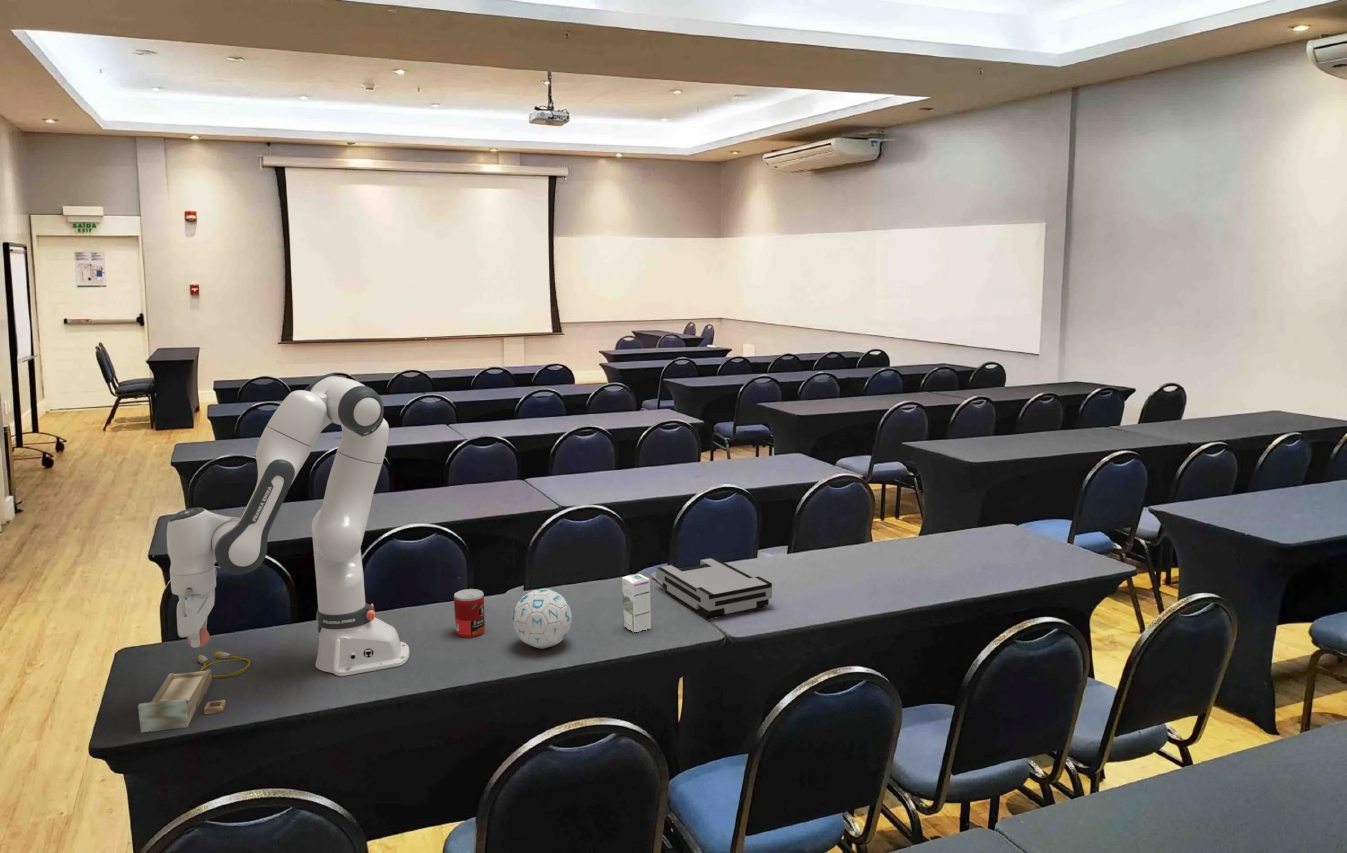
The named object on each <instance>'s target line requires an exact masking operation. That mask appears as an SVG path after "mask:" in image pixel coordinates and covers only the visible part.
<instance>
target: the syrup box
mask: <svg viewBox="0 0 1347 853" xmlns="http://www.w3.org/2000/svg"><path fill="white" fill-rule="evenodd" d="M621 580H622V586H621V588H622V589H621V590H622V617H623V618H622V620H623V621H622V622H623V628H624V627H626V628H627V629H626V628H625V629H626V630H628V631H629V630H631V631H632V632H631V631H630V632H631V633H633V634H635V633H634V632H639V631H642V630H646V631H648V630H647V629H650V630H651V629H652V619H651V617H652V614H651V610H652V608H651V580H650V578H649V577H646V576H644V575H642V574H641V573H633V574H628V575H626V576H622V577H621ZM639 633H640V632H639Z"/></svg>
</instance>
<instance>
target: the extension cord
mask: <svg viewBox="0 0 1347 853" xmlns="http://www.w3.org/2000/svg"><path fill="white" fill-rule="evenodd" d="M213 658H214V659H219V661H214V662H211V663H209V658H208V657H207V656H205V655H204V654H199V655H198V656H197V661H198V662H200V663H199V664H201V665H203V666H202V668H200V670H199V671H198V672H201V671H204V670H205V668H207V667H209V666H211V665H214V663H215V664H218V662H219V663H223V662H222V661H224V662H231V661H245V660H246V662H248V663H247V664H246V666H245V667H244V668H241V669H240V670H238V671H236V672H231V673H228V674H224V675H212V679H224V678H229V677H235V676H238V675H240V674H242V673H244V672H245V670H246V671H247V670H248V669H249V668H250V666H251V663H252V662H251V660H249V659H248V658H244V657H239V656H233V655H232V653H229V652H226V651H225V652H224V651H222V650H219V651H216V652H215V653H214V656H213ZM232 658H233V659H232ZM220 659H221V660H220Z"/></svg>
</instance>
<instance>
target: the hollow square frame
mask: <svg viewBox="0 0 1347 853" xmlns="http://www.w3.org/2000/svg"><path fill="white" fill-rule="evenodd" d="M226 705H227V703H226V699H221V700H212V701H207V703H206V704H205V706H204V708H203V711H204V715H209V714H218V713H223V711H224V710H225V707H226Z"/></svg>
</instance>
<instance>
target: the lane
mask: <svg viewBox="0 0 1347 853" xmlns="http://www.w3.org/2000/svg"><path fill="white" fill-rule="evenodd" d="M212 674H213V673H212V669H210V668H209V669H206V670H202V671H201V672H199V671H192V672H184V673H183V672H182V673H174V672H172V673H169V674H168V675H167V677H166V678H165V680H164V681H163V683H162V684H161V686H160V687H159V689H158V691H157V692H156V693H155V695H154V697H153V698H152V700H151V701H150V702H143V703H139V704H138V706H137V708H138V716H139V717H138V718H139V719H138V720H139V726H140V727H139V728H140V733H147V732H149V731H150V732H157V731H166V730H174V729H183V728H185V729H186V728H188V727H189V725H190V723H191V721H192V719H193V717H194V716H195V714H196V712H197V710H198V709H199V706H200V705H201V703H202V701H203V699H204V697H205V696H206V694H207V692H208V690H209V688H210V686H211V684H212V683H213V678H212V676H213V675H212Z"/></svg>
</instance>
